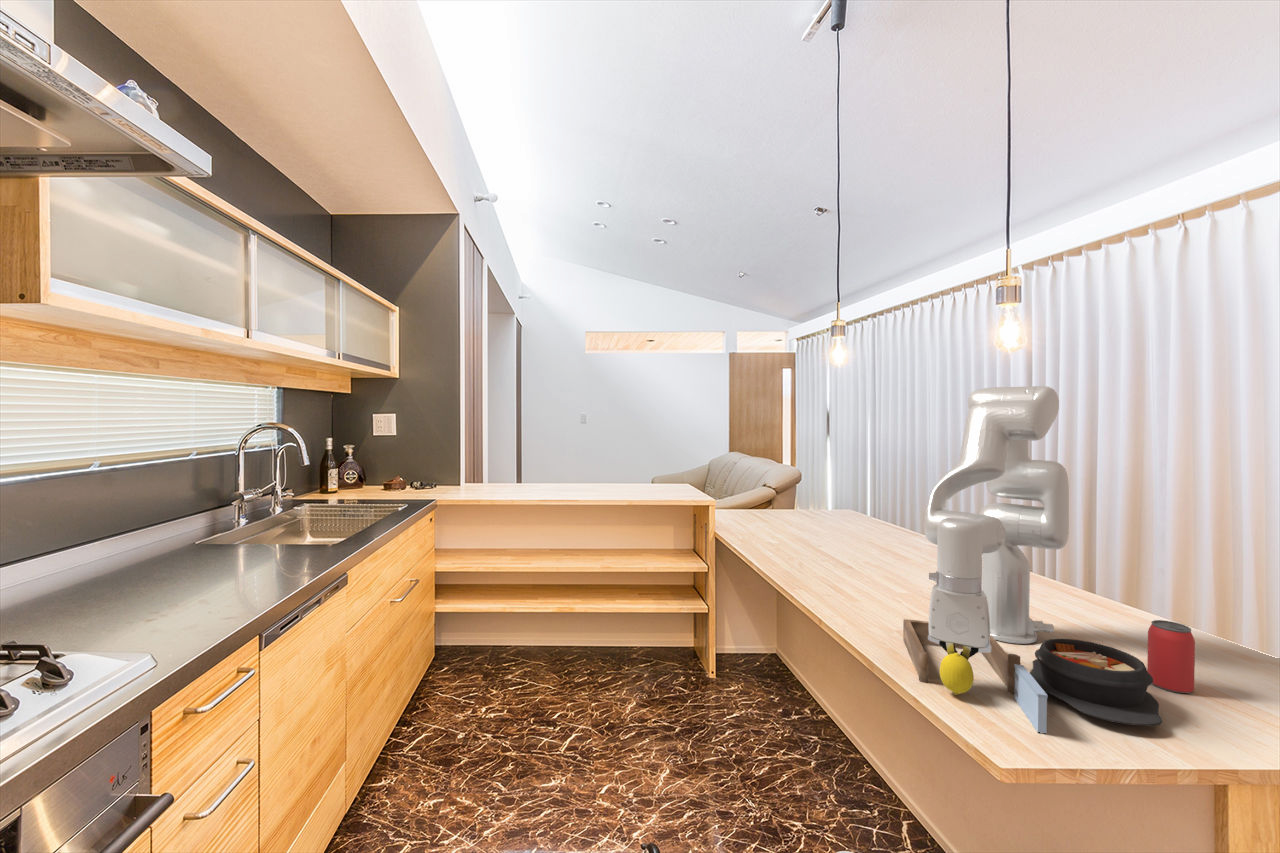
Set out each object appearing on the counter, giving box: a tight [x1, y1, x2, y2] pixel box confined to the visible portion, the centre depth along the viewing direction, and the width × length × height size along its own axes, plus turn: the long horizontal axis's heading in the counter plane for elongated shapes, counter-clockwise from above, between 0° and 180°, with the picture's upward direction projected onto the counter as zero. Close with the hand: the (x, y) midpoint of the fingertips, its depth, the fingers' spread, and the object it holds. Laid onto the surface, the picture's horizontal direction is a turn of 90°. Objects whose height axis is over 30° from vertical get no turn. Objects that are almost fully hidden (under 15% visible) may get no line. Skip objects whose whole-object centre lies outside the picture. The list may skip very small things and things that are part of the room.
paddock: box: [902, 618, 1021, 696], centre depth 115 cm, size 17×22×7 cm
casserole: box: [1029, 638, 1163, 727], centre depth 102 cm, size 25×19×8 cm
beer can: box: [1146, 619, 1196, 694], centre depth 106 cm, size 7×7×12 cm
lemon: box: [939, 652, 975, 696], centre depth 103 cm, size 6×6×8 cm
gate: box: [1014, 664, 1049, 734], centre depth 96 cm, size 12×1×6 cm, turn 161°
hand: (958, 675), depth 106 cm, fingers closed
